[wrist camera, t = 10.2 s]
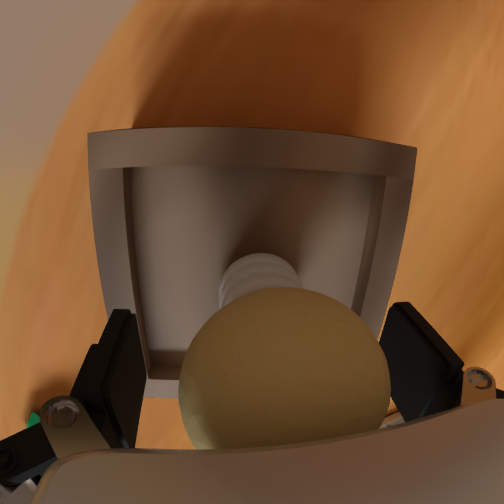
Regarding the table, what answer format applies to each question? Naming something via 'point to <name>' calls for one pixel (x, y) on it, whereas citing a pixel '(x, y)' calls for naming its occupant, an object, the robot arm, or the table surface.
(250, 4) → the table surface
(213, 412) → the light bulb
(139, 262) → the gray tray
